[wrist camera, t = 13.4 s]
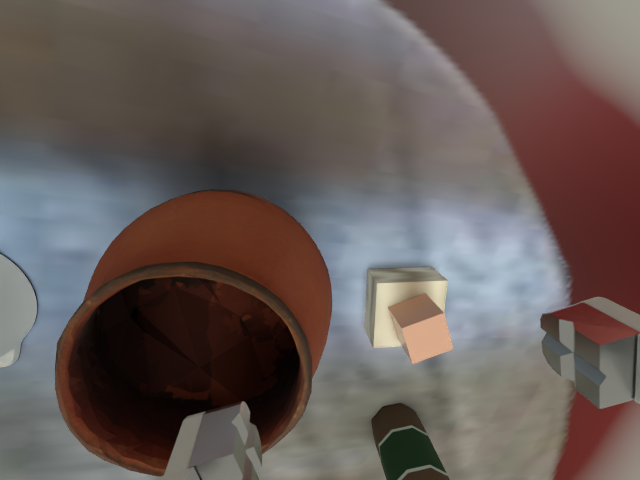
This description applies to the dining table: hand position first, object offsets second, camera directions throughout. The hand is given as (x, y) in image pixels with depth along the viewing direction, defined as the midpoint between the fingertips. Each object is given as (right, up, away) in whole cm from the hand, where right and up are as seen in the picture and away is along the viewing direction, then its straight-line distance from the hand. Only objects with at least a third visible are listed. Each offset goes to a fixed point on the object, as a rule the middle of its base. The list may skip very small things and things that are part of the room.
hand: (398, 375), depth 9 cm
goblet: (-12, +2, +34) cm, 36 cm away
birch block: (+9, -4, +39) cm, 40 cm away
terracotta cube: (+9, -6, +34) cm, 36 cm away
